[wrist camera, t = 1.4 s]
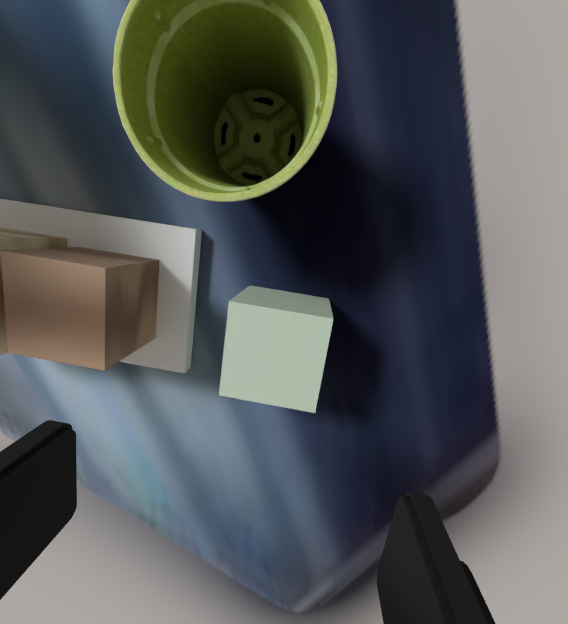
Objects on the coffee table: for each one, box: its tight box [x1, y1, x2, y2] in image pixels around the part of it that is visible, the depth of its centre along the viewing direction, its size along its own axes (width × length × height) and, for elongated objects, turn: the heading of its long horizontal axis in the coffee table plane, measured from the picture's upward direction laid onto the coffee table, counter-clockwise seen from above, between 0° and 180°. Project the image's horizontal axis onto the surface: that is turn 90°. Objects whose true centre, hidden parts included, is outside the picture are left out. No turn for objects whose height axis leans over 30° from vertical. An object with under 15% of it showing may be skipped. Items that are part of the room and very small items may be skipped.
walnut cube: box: [1, 247, 159, 371], centre depth 21 cm, size 6×6×6 cm
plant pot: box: [113, 0, 337, 202], centre depth 17 cm, size 9×9×9 cm
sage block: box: [219, 286, 333, 413], centre depth 21 cm, size 6×6×6 cm
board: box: [0, 198, 202, 374], centre depth 24 cm, size 11×17×1 cm, turn 81°
